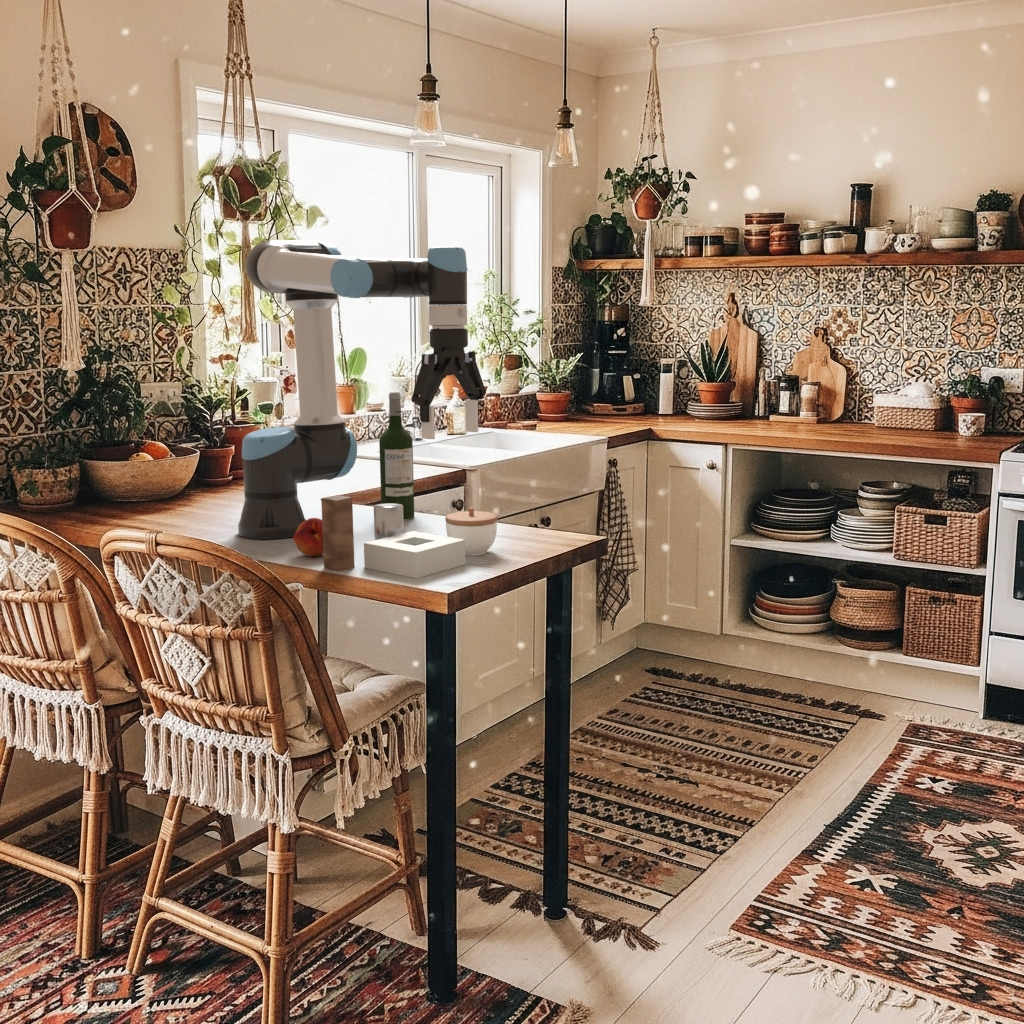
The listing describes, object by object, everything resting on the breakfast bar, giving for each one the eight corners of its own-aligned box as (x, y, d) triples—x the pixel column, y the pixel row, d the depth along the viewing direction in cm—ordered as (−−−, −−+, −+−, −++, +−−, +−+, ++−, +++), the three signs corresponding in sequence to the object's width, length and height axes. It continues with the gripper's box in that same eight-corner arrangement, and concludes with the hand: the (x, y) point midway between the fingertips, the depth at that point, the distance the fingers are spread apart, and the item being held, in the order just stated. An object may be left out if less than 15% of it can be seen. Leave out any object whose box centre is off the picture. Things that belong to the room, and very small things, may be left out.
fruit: (288, 560, 230) (286, 521, 229) (302, 551, 238) (300, 513, 236) (325, 561, 229) (324, 522, 227) (338, 552, 237) (336, 514, 235)
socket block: (364, 567, 223) (363, 542, 222) (413, 554, 233) (413, 531, 233) (416, 578, 214) (415, 552, 213) (465, 564, 225) (464, 539, 224)
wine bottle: (392, 521, 268) (388, 394, 262) (375, 516, 274) (371, 392, 268) (420, 517, 272) (417, 392, 267) (403, 512, 279) (400, 390, 273)
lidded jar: (508, 551, 236) (508, 507, 234) (472, 560, 228) (472, 515, 226) (471, 544, 243) (470, 501, 241) (435, 553, 235) (434, 508, 233)
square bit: (324, 568, 223) (321, 498, 220) (339, 564, 226) (337, 495, 223) (338, 571, 220) (336, 500, 217) (354, 567, 223) (352, 497, 221)
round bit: (369, 554, 235) (367, 506, 233) (389, 549, 239) (388, 502, 237) (389, 558, 231) (388, 509, 229) (410, 552, 235) (409, 505, 234)
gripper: (421, 329, 210) (423, 443, 214) (502, 325, 230) (503, 430, 234) (391, 329, 215) (394, 440, 219) (473, 325, 235) (474, 427, 238)
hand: (450, 435), depth 226 cm, fingers open, 13 cm apart
